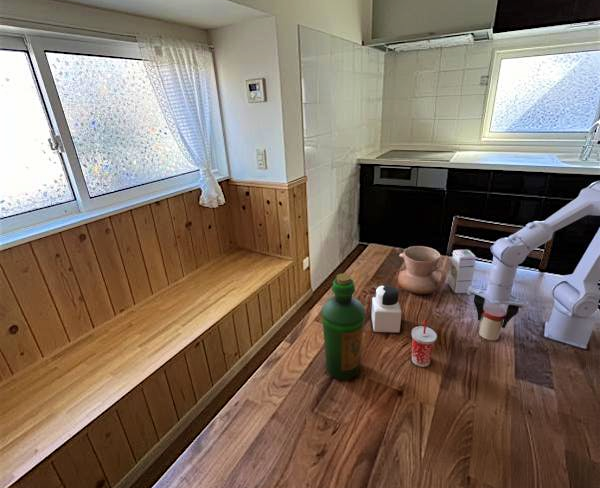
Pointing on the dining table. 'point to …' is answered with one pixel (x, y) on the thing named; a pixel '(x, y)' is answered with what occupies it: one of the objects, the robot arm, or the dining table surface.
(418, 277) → the ceramic jug
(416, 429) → the dining table surface
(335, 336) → the bottle
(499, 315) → the jar lid
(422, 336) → the beverage cup
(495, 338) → the jam jar
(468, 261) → the syrup box
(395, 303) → the container
